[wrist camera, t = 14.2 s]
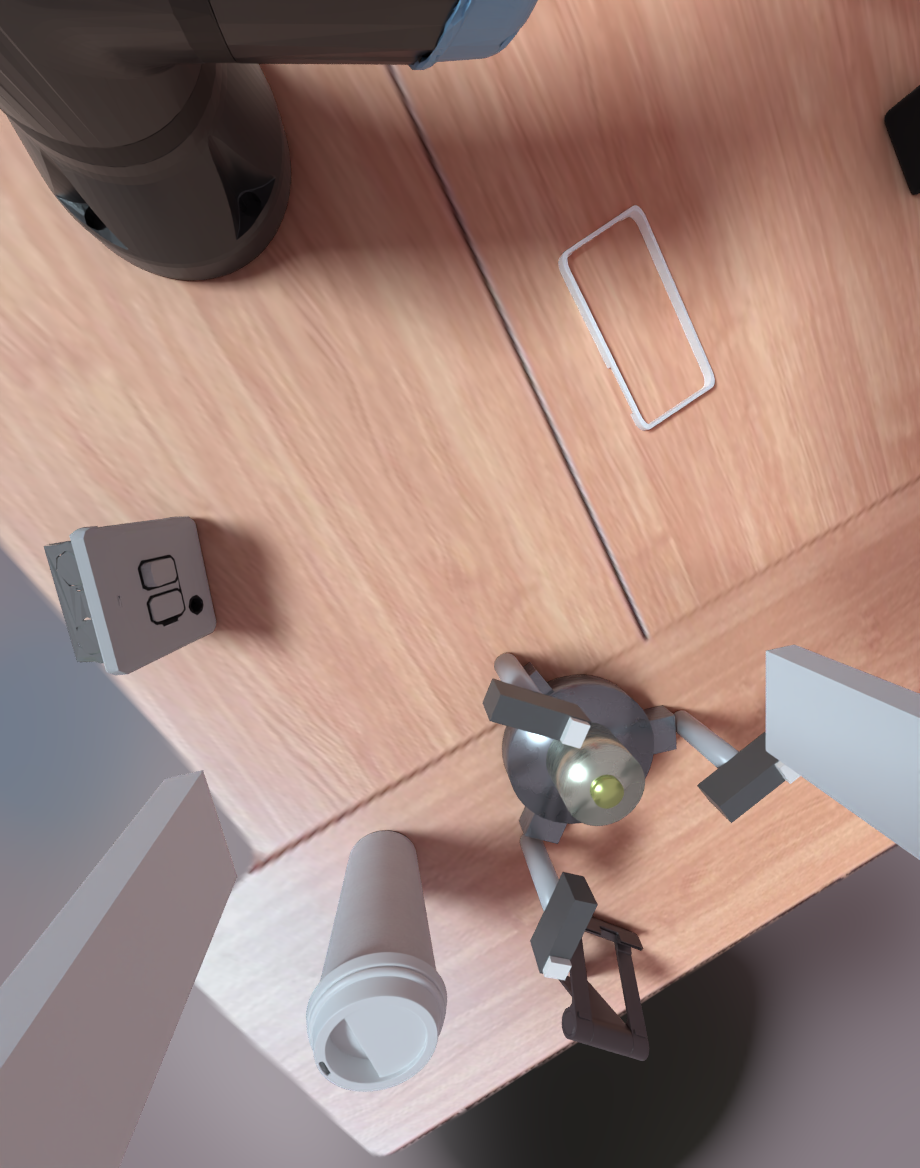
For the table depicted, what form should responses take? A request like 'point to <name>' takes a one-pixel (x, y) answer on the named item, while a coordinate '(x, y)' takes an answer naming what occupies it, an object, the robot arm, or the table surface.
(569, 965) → the foot screw
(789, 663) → the robot arm
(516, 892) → the table surface
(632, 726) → the levelling base
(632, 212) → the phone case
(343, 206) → the table surface
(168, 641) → the electrical switch
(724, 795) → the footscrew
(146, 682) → the table surface
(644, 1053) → the portable electronic device stand
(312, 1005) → the coffee cup
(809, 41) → the table surface
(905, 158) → the battery
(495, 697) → the foot screw
